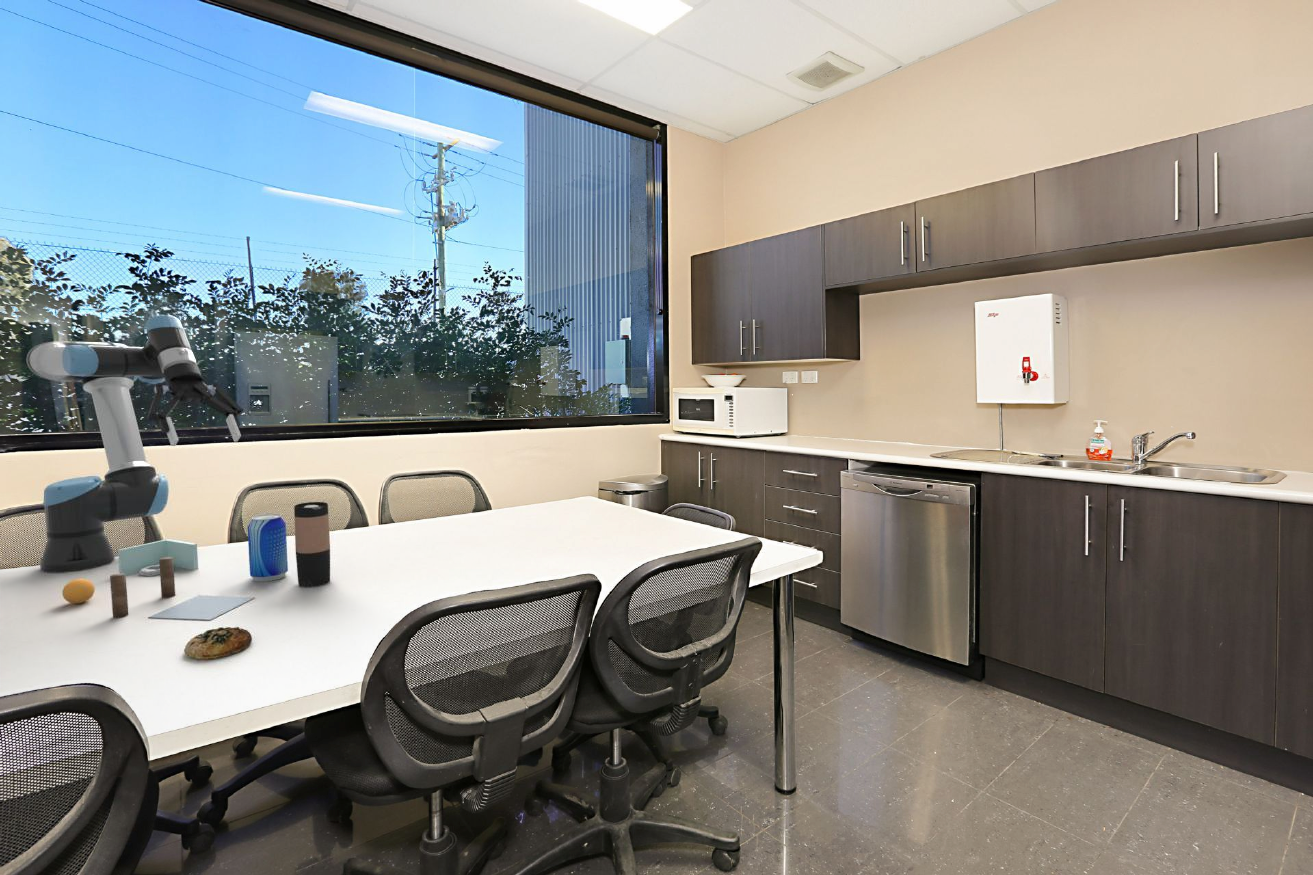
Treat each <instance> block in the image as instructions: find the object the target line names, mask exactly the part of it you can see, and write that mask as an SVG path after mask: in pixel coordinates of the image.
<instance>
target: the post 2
mask: <svg viewBox="0 0 1313 875" xmlns="http://www.w3.org/2000/svg"><path fill="white" fill-rule="evenodd" d="M159 565H160V575H159V579H160V595H161V598H162V599H166V598H172V597H173V598H174V597H175V596H176V587H175V586H176V585H175V569H174V568H175V566H173V557H165V558H161V559H159Z"/></svg>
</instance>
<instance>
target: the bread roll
mask: <svg viewBox="0 0 1313 875" xmlns="http://www.w3.org/2000/svg"><path fill="white" fill-rule="evenodd" d="M252 641H253V637H252V635H251V633H250V631H248V629H244V628H240V627H238V626H235V627H230V626H227V627H223V626H222V627H221V626H220V627H217V628H212V629H207V630H206V631H204V632H203V633H200V634H198V635H195V636H193V637H192V638H190V640H189V641H188V642H187V643H186V644H185V648H184V649H183V652H184V654H185V655H186V656H187V657H188V658H190V659H194V660H196V659H197V660H201V661H213V660H217V659H223V658H225V657H226V658H227V657H229V656H232V655H235V654H237V653H241V652H243V651H244V650H246V649H247V648H249V646H250V645H251V643H252Z"/></svg>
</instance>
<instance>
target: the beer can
mask: <svg viewBox="0 0 1313 875" xmlns="http://www.w3.org/2000/svg"><path fill="white" fill-rule="evenodd" d="M286 524H287V523H286V522H285V520H284V519H283V517H282V515H281V514H280V513H266V514H258V515H255V516H252V517H251V520H250V522H249V524H248V525H247V540H248V541H247V542H248V562H249V563H248V564H249V576H250V577H251V578H252V579H253V580H254V582H272V580H273V581H276V580H280V579H282V577H283V578H284V577H285V576H286V574H287V572H288V570H289V568H288V567H289V564H288V546H287V525H286Z"/></svg>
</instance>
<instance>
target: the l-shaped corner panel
mask: <svg viewBox="0 0 1313 875" xmlns="http://www.w3.org/2000/svg"><path fill="white" fill-rule="evenodd" d="M117 555H118V556H117V557H118V567H119V568H118V569H119V570H118V571H119V573H125V574H126V576H128V575H133V574H137V573H139V576H140V575H141V576H142V577H151V576H152V577H153V576H160V565H159V559H161V558H165V557H173V566H174V567H177V568H181V567H183V569H188V570H192V569H194V570H195V569H196V570H199V559H198V558H199V555H198V544H197V543H194V542H188V541H184V540H182V541H181V540H175V539H170V538H167V539H162V540H157V541H153V542H149V543H143V544H139V545H134V546H129V547H126V548H120V549H117ZM194 570H193V571H194ZM196 570H195V571H196Z"/></svg>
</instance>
